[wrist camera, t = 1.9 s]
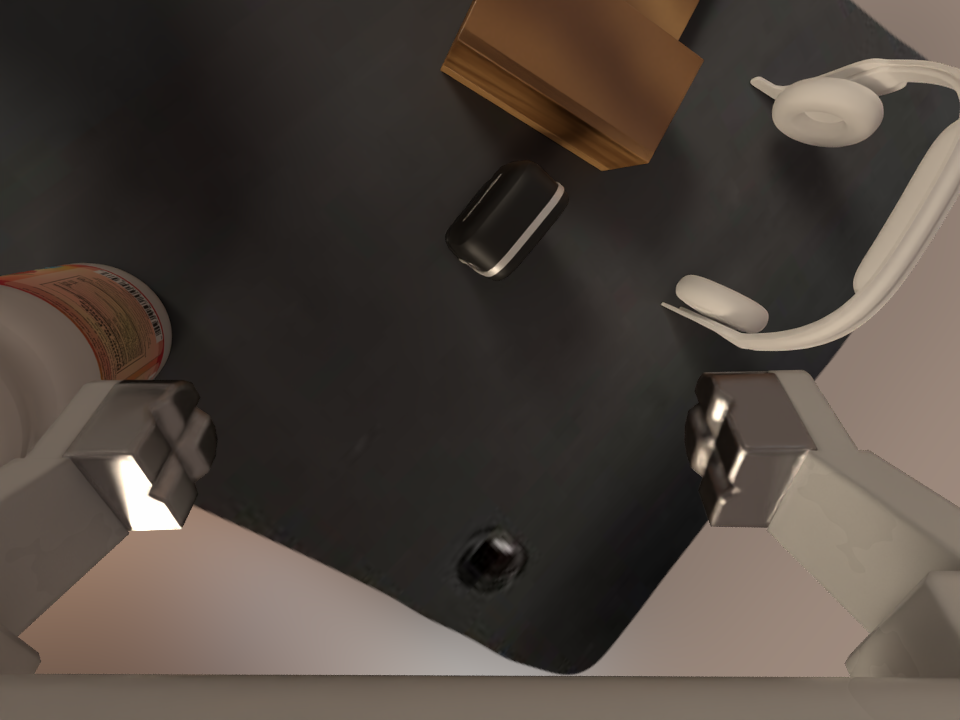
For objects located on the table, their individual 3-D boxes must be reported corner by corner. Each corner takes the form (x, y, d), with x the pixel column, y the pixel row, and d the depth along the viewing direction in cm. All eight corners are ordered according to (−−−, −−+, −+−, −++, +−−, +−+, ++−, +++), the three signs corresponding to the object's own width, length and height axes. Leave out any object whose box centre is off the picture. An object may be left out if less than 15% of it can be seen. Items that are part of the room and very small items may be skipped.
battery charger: (488, 162, 41) (533, 144, 31) (526, 197, 43) (581, 192, 32) (428, 236, 42) (451, 245, 31) (467, 269, 43) (502, 288, 32)
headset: (699, 337, 49) (880, 404, 32) (633, 303, 47) (788, 356, 30) (820, 115, 46) (1089, 59, 29) (755, 69, 44) (1003, -20, 27)
